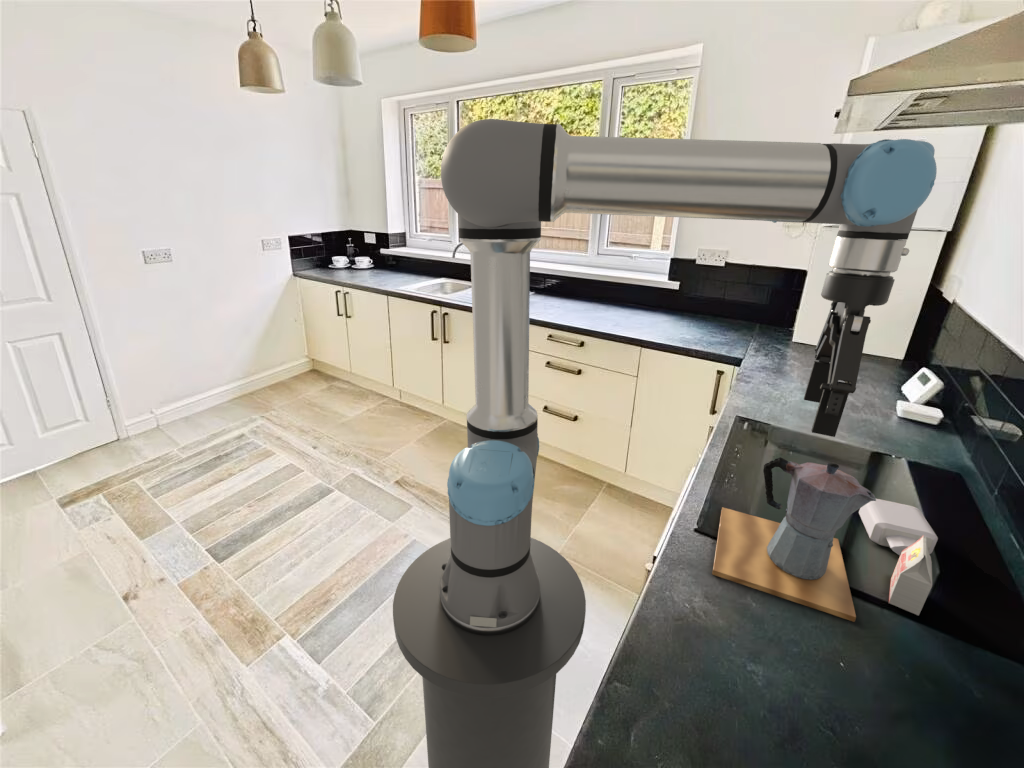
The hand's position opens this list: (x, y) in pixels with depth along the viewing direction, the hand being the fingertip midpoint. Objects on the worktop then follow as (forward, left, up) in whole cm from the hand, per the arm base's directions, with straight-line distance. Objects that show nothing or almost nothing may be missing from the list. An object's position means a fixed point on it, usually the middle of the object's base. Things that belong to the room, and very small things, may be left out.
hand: (817, 416), depth 69 cm
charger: (+21, +18, -29) cm, 40 cm away
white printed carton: (+19, +3, -29) cm, 35 cm away
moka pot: (+3, +2, -28) cm, 28 cm away
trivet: (+1, +3, -29) cm, 29 cm away
